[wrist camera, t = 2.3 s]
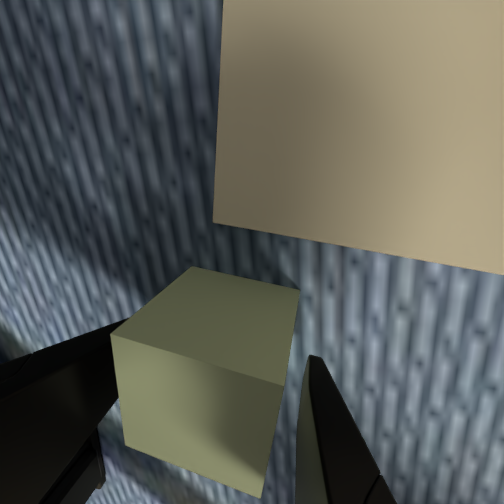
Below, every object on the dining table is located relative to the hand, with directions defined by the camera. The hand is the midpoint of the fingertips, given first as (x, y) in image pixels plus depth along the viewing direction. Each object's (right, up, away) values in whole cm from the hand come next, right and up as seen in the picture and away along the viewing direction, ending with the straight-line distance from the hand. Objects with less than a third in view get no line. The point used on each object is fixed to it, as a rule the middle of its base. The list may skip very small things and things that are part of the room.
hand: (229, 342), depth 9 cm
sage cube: (0, 0, +1) cm, 1 cm away
